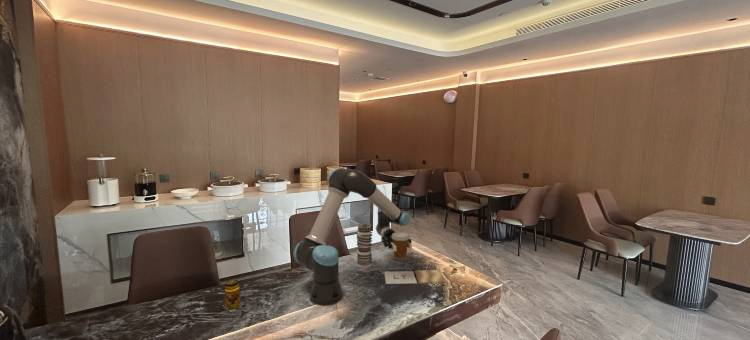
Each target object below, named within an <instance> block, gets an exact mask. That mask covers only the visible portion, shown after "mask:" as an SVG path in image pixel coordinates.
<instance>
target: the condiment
mask: <svg viewBox="0 0 750 340" xmlns="http://www.w3.org/2000/svg"><path fill="white" fill-rule="evenodd" d="M240 290H241V288H240V284H239V280H238V279H230V280H228V281H225V289H224V298H225V299H224V301H225V304H224V305H226V309H228V310H233V309H237V308H239V307H240V305H241V304H242V303H241V291H240Z"/></svg>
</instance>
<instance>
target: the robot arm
mask: <svg viewBox="0 0 750 340" xmlns="http://www.w3.org/2000/svg"><path fill="white" fill-rule="evenodd" d="M327 184H328V186H327V190H328V192H327V193H328V194H327V195H326V197H325V200H324V203H323V205H322V206H321V209H320V211H319V213H318V215H317V217H316V220H315V221H314V224H313V226H312V228H311V230H310V233H309V234H308V235H306V236H305V237H304V238H303V240H302V241H300V242H299V243H297V244H296V246H295V248H294V250H293V256H294V257H293V258H294V260H295V262H296V263H297V264H298V265H300V266H301V267H303V268H305V269H307V270H309V271H311V272H312V273H313V275H312V276H313V282H312V286H311V290H310V291H309V292H310V293H309V297H310V298H309V300H310V301H311V303H313V304H315V305H319V306H329V305H333V304H336V303H338V302H340V301H341V300H342V298H343V289H342V286H341V283H340V280H339V275H340V274H339V259H340V258H339V257H340V256H339V251H338V249H337V248H336V247H334V246H332V245H327V243H326V240H327V238H328V236H329V234H330V231H331V229H332V226H333V224H334V222H335V220H336V218H337V216H338V213H339V210H340V208H341V205H342V204H343V203H344V202H343V201H344V199H346V198H348V197H349V196H350V193H355V194H357V195H360V196H361V197H362V198H365V199H368V201H369V202H371V203H372V204H373V205H374V206H375V207H377V224H376V226H375V230H376V233H377V234H378V235H379V236H380V237H381V238H380V239H381V241H380V242H381V243H382V244H383V246H384V248H388V249H389V250H390V249H392V250H393V252H394V251H395V252H396V246H395V245H394V244H393V241H392V237H391V236H392V234H393V233H395V232H396V231H395V230H394V229H392V228H391V224H394V225H398V226H400V227H401V226H404V227H407V226H408V225H409V223H410V221H411V217H410V214H409V213H407V212H403V211H402V210H401V209H400V208H399V207H398V206H396V204H394V202H392V200H390V199H389V197H387V196H386V194H384V192H382V191H381V190H380V189H379V188H378V187H377V183H375V182H374V181H373V180H372V178H370V177H369V176H367V175H366V173H364V172H362V171H361V170H357V169H351V168H345V167H340V168H334V169H333V170H331V171H330V173H329V175H328V178H327ZM407 249H409V250H410V251H412V250H413V244H412V239H411V238H409V239H408V246H407Z"/></svg>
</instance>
